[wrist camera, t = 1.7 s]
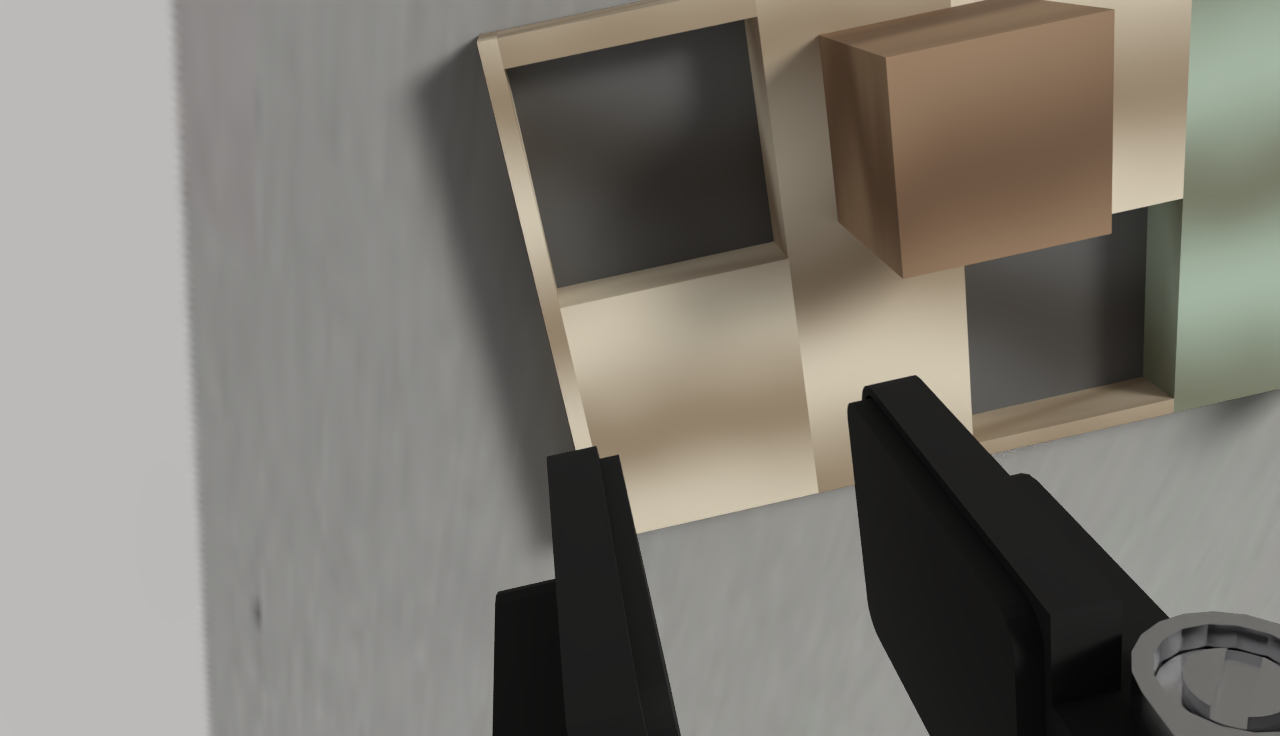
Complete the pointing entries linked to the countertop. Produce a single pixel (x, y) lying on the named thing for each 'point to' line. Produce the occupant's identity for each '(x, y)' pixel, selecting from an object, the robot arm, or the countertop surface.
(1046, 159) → the walnut block
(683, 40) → the trap board
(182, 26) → the countertop surface
